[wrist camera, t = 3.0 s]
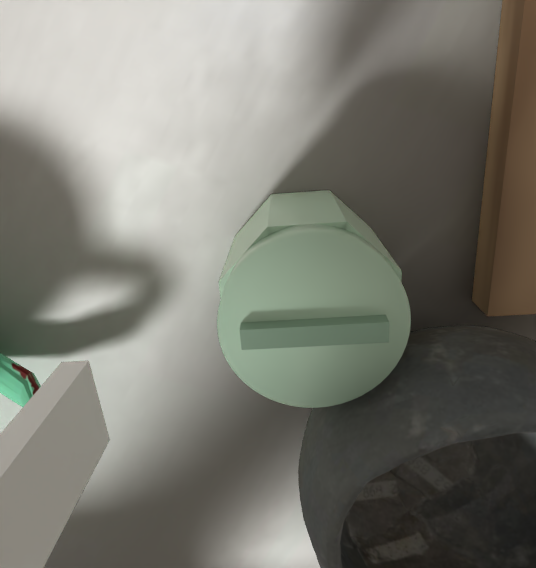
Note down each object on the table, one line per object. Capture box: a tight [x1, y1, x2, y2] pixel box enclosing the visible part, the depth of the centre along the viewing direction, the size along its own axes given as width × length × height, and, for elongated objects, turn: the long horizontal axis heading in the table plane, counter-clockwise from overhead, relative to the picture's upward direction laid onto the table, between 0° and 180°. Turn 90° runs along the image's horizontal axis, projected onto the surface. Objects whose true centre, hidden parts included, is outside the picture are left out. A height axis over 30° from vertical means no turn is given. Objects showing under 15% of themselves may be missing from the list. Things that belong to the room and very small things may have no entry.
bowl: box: [299, 325, 536, 568], centre depth 22 cm, size 15×15×10 cm
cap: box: [217, 190, 411, 408], centre depth 20 cm, size 7×7×9 cm
